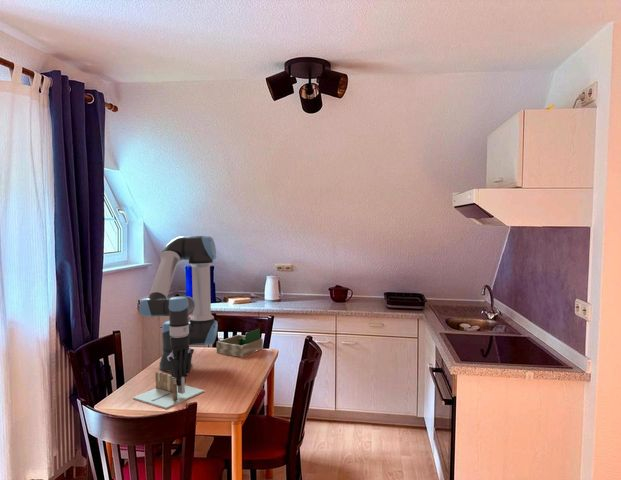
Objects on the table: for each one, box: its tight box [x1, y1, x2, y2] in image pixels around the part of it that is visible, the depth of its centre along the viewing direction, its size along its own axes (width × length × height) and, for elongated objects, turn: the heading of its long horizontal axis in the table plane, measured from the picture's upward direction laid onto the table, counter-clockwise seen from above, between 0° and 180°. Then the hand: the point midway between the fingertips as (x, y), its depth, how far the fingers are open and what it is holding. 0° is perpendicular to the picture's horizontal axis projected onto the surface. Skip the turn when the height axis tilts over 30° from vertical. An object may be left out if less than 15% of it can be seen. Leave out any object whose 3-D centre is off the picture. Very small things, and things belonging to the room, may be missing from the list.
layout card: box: [132, 384, 205, 410], centre depth 182 cm, size 20×20×1 cm
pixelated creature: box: [238, 328, 261, 346], centre depth 245 cm, size 12×12×12 cm
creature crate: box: [216, 334, 264, 358], centre depth 244 cm, size 18×18×6 cm
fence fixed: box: [154, 371, 172, 393], centre depth 186 cm, size 11×2×8 cm, turn 58°
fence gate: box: [172, 377, 177, 401], centre depth 178 cm, size 10×2×7 cm, turn 22°
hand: (181, 392), depth 179 cm, fingers closed
